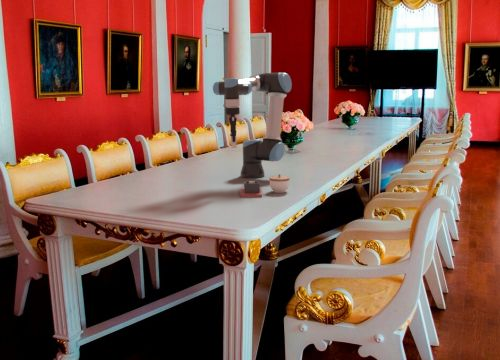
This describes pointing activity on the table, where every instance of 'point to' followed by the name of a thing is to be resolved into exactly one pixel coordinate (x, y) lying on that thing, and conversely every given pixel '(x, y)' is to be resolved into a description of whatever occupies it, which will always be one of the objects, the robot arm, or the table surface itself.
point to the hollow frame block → (251, 187)
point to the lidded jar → (279, 183)
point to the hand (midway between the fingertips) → (233, 146)
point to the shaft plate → (251, 193)
